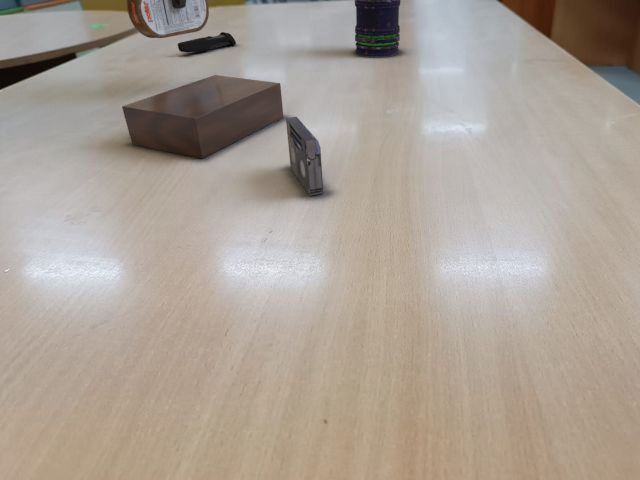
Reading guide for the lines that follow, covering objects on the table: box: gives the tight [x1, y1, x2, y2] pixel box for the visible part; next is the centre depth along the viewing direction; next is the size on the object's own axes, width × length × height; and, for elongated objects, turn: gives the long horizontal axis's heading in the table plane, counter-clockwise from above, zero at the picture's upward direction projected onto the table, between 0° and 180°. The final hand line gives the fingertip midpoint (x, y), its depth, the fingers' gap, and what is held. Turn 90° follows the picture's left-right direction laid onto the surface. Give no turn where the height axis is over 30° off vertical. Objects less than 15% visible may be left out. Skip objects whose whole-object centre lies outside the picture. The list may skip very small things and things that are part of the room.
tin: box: [126, 0, 210, 39], centre depth 83 cm, size 15×3×8 cm, turn 149°
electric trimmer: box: [177, 31, 237, 53], centre depth 118 cm, size 4×16×3 cm, turn 146°
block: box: [121, 74, 284, 160], centre depth 70 cm, size 12×18×5 cm, turn 153°
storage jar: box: [354, 0, 402, 58], centre depth 110 cm, size 10×10×15 cm
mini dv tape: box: [285, 116, 324, 197], centre depth 56 cm, size 8×2×6 cm, turn 21°
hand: (171, 6), depth 83 cm, fingers closed on tin, 3 cm apart
